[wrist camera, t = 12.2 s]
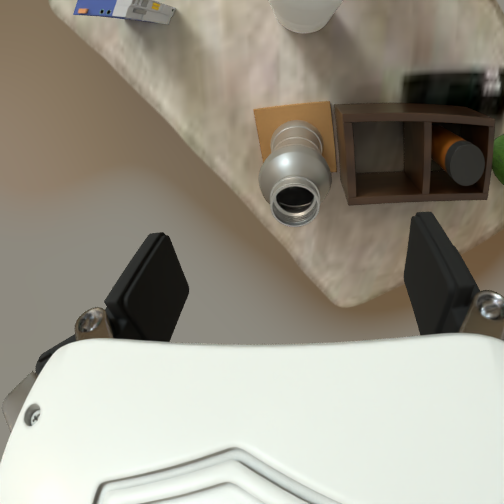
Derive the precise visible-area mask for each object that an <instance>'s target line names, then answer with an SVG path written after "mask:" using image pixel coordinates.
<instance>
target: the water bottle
mask: <svg viewBox="0 0 504 504" xmlns="http://www.w3.org/2000/svg"><path fill="white" fill-rule="evenodd" d="M268 1H269V3H270V5H271V7H272V10H273V12H274V15H275V17H276V19H277V20H278V22H279V23H280V24H281V25H282V26H284V27H285V28H287V29H288V30H290V31H293V32H296V33H312V32H315V31H318V30H320V29H321V28H323V27H324V26H325V25H326V24H327V23H328V21H329V20H330V18H331V17H332V15H333V13H334V12H335V11H336V10H337V9H338V7H339V6H340V5H341V3H342V1H343V0H268Z"/></svg>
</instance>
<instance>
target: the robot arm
mask: <svg viewBox="0 0 504 504" xmlns="http://www.w3.org/2000/svg"><path fill="white" fill-rule="evenodd" d="M404 282H405V285H406V288H407V291H408V295H409V297H410V301H411V304H412V307H413V311H414V314H415V317H416V321H417V324H418V328H419V331H420V336H409V337H399V338H389V339H376V340H364V341H349V342H332V343H311V344H310V343H308V344H270V345H269V344H268V345H267V344H260V345H258V344H256V345H255V344H253V345H252V344H201V343H177V342H169V341H170V339H171V336H172V334H173V331H174V329H175V326H176V324H177V321H178V319H179V316H180V314H181V311H182V309H183V306H184V304H185V301H186V299H187V297H188V294H189V286H188V283H187V281H186V278H185V276H184V273H183V271H182V268H181V266H180V263H179V261H178V258H177V255H176V253H175V250H174V248H173V245H172V242H171V240H170V238H169V236H167V235H165V234H164V233H163V232H162V233H152V234H149V235H148V237H147V238H146V239H145V241H144V242H143V244H142V245H141V247H140V248H139V249H138V251H137V252H136V254H135V255H134V257H133V258H132V260H131V261H130V263H129V264H128V266H127V267H126V268H125V270H124V272H123V273H122V275H121V276H120V278H119V279H118V281H117V282H116V284H115V285H114V287H113V288H112V290H111V292H110V293H109V295H108V296H107V298H106V299H105V301H104V302H105V304H106V306H107V307H106V309H105V310H104V309H103V308H99V307H95V308H91V309H89V310H87V311H86V312H84V313H83V314H82V315H81V316H80V317H79V318H78V319H77V321H76V324H75V334H74V335H73V336H71V337H69V338H68V339H66V340H65V341H63V342H61V343H59V344H58V345H56V346H54V347H53V348H51V349H49V350H48V351H46V352H44V353H43V354H42V355H41V356H40V357H39V360H38V361H37V364H36V373H34V372H33V371H32V372H31V373H30V374H29V375H28V376H27V377H26V378H25V379H24V380H23V381H22V382H20V383H19V384H18V385H17V386H16V387H15V388H14V390H12V391H11V392H10V393H9V394H8V395H7V397H6V398H5V399H4V402H3V405H2V411H3V414H4V417H5V419H6V422H7V425H8V427H9V429H10V432H11V435H10V438H9V440H8V443H7V446H6V449H5V452H4V454H3V457H2V460H1V463H0V504H504V297H503V296H502V295H500V294H498V293H497V292H494V291H490V290H484V291H480V290H479V288H478V286H477V284H476V282H475V280H474V279H473V277H472V275H471V273H470V271H469V270H468V268H467V266H466V264H465V262H464V261H463V259H462V257H461V255H460V254H459V252H458V250H457V249H456V247H455V246H453V245H452V243H451V241H450V240H449V238H448V237H447V235H446V233H445V232H444V230H443V229H442V227H441V225H440V224H439V222H438V221H437V219H436V218H435V216H434V215H433V213H432V212H417V213H416V215H415V216H413V217H412V218H411V225H410V234H409V242H408V250H407V257H406V264H405V270H404Z"/></svg>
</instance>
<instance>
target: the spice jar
mask: <svg viewBox="0 0 504 504" xmlns="http://www.w3.org/2000/svg"><path fill="white" fill-rule="evenodd" d="M431 159H432V160H434V161H435V162H436V163H437V164H438V165H439V166H440V167H441V168H443V169H444V170H445V171H446V172H447V173H448V174H449V176H450V177H451V178H452V179H453V180H454V181H455V182H457V183H458V184H460V185H462V186H469V185H472V184H474V183H476V182H477V181H478V180H479V179H480V177H481V176H482V174H483V171H484V167H485V160H484V156H483V153H482V152H481V150H480V149H479V148H478V147H477V146H475V145H474V144H472V143H470V142H469V141H466V140H464V139H463V138H461V137H459V136H458V135H456V134H454V133H453V132H451V131H449V130H447V129H446V128H444V127H442V126H439V125H432V149H431Z"/></svg>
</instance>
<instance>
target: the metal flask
mask: <svg viewBox="0 0 504 504" xmlns="http://www.w3.org/2000/svg"><path fill="white" fill-rule="evenodd" d="M270 146H271V154H270V155H269V156H268V157H267V158H266V160H265V161H264V163H263V165H262V167H261V169H260V173H259V186H260V189H261V192H262V194H263V196H264V198H265V199H266V201H267V202H268V203H269V204H270V208H271V212H272V214H273V216H274V218H275V219H276V220H277V221H278V222H280V223H281V224H283V225H285V226H289V227H300V226H304V225H306V224H308V223H310V222H311V221H313V220H314V219H315V217H316V216H317V214H318V212H319V207H320V204H321V203H322V202H323V200H324V199H325V197H326V196H327V194H328V192H329V190H330V187H331V182H332V179H331V172H330V168H329V166H328V164H327V162H326V160H325V159H324V157H323V156H322V151H323V138H322V135H321V134H320V132H319V131H318V129H317V128H316V127H315V126H313V125H312V124H310V123H308V122H306V121H302V120H292V121H288V122H286V123H284V124H282V125H281V126H279V127H278V128H277V129H276V130H275V132H274V133H273V135H272V138H271V143H270Z"/></svg>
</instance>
